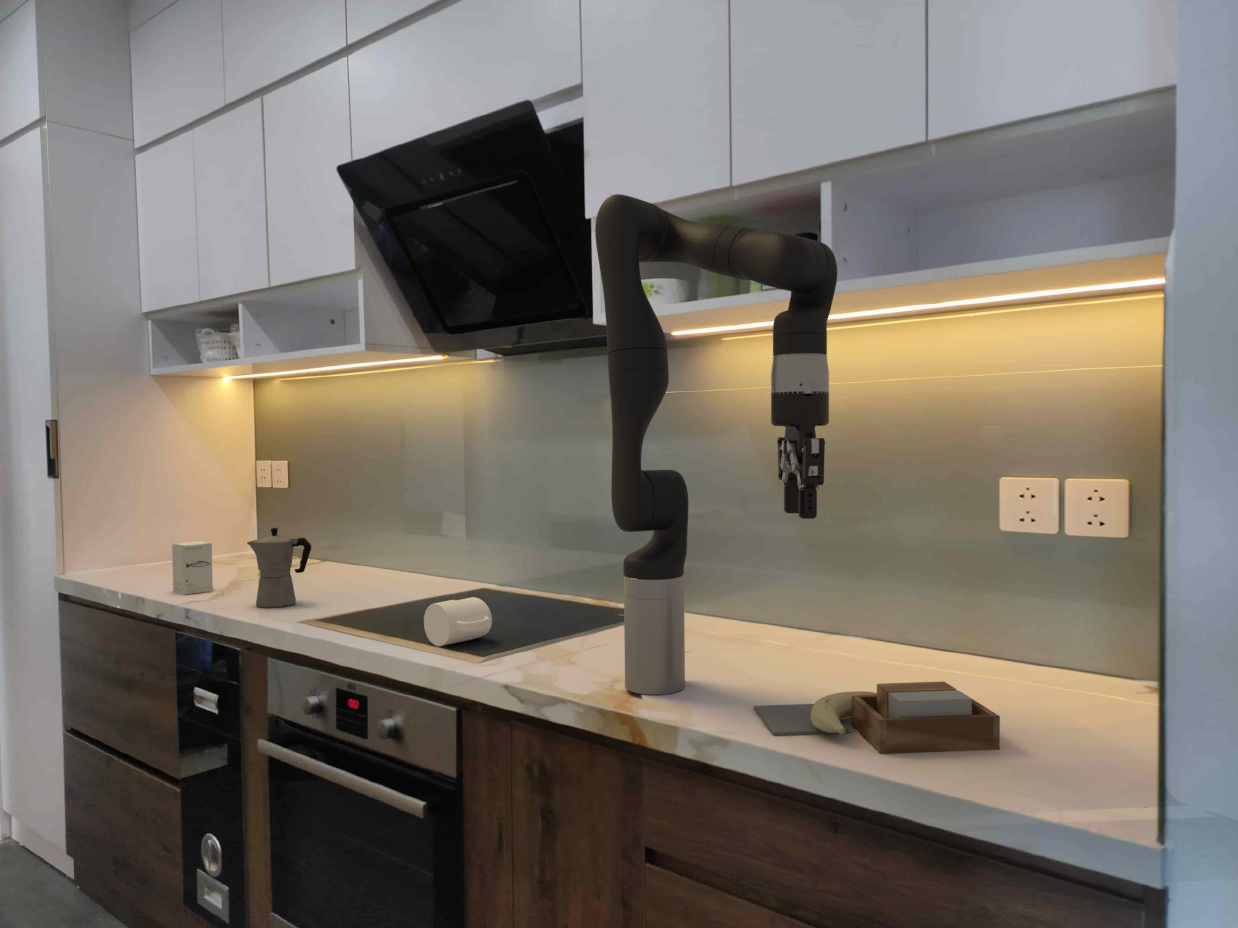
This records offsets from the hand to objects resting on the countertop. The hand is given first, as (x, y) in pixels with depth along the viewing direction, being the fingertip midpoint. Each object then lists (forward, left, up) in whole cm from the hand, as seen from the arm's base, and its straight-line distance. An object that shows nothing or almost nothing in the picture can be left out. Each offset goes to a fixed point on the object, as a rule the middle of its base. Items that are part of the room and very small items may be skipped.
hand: (799, 515), depth 116 cm
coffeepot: (-95, -98, -28) cm, 139 cm away
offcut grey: (+10, +13, -28) cm, 32 cm away
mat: (0, 0, -27) cm, 27 cm away
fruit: (0, +13, -27) cm, 30 cm away
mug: (-51, -51, -28) cm, 77 cm away
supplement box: (-115, -126, -28) cm, 172 cm away
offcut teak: (+6, +13, -28) cm, 31 cm away
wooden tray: (+8, +13, -27) cm, 32 cm away
